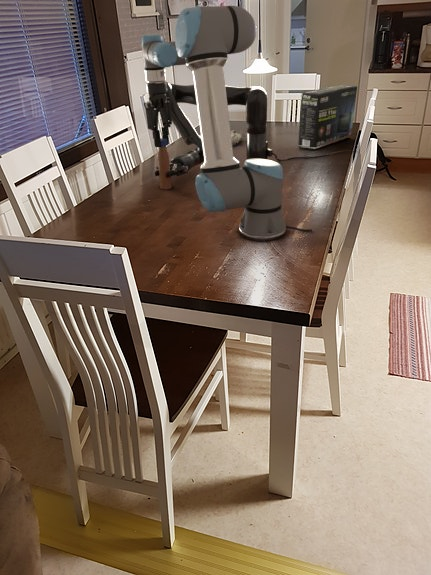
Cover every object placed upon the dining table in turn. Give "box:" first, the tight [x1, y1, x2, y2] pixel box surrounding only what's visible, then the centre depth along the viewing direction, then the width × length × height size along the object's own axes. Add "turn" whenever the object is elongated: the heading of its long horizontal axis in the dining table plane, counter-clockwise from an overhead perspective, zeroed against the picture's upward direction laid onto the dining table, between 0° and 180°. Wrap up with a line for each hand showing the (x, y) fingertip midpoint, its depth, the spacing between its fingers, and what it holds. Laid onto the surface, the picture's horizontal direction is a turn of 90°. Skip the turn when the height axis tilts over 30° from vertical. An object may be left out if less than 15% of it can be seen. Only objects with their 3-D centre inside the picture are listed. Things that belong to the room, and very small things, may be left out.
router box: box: [297, 84, 358, 151], centre depth 238 cm, size 36×11×27 cm, turn 134°
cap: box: [160, 137, 168, 147], centre depth 182 cm, size 4×4×2 cm
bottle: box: [156, 146, 173, 190], centre depth 187 cm, size 5×5×19 cm
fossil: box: [230, 128, 246, 147], centre depth 252 cm, size 18×11×15 cm
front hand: (162, 145), depth 183 cm, fingers closed on cap, 4 cm apart
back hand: (161, 174), depth 186 cm, fingers closed on bottle, 4 cm apart
